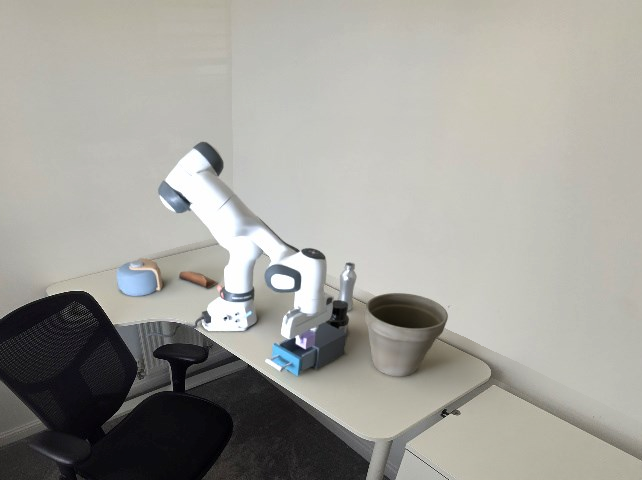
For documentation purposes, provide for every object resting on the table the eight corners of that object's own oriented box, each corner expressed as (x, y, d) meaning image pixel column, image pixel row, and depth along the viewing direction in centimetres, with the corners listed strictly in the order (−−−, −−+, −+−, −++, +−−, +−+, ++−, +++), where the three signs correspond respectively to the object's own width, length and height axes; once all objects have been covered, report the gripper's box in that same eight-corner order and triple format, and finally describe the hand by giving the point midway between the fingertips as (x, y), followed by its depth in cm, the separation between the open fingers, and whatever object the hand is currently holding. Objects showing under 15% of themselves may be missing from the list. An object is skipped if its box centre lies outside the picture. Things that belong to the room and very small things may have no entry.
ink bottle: (344, 340, 165) (348, 311, 158) (321, 336, 167) (324, 308, 160) (348, 327, 172) (353, 300, 165) (326, 324, 175) (330, 296, 168)
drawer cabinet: (316, 369, 150) (319, 348, 145) (288, 352, 158) (289, 332, 153) (344, 353, 157) (347, 333, 152) (315, 338, 166) (317, 318, 161)
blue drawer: (285, 383, 142) (286, 366, 138) (259, 366, 150) (260, 350, 146) (324, 361, 152) (326, 344, 148) (299, 346, 160) (300, 330, 156)
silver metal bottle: (352, 313, 182) (359, 267, 170) (335, 312, 183) (341, 266, 171) (352, 306, 187) (359, 261, 175) (336, 305, 188) (341, 260, 176)
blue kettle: (169, 289, 202) (166, 264, 194) (128, 300, 193) (123, 275, 185) (151, 275, 214) (148, 251, 207) (112, 285, 205) (107, 260, 198)
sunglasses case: (218, 282, 206) (213, 273, 201) (210, 293, 204) (204, 284, 199) (191, 272, 215) (185, 263, 210) (183, 283, 213) (176, 275, 208)
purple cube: (305, 349, 141) (306, 338, 139) (295, 343, 144) (296, 333, 142) (314, 344, 144) (315, 334, 141) (304, 339, 146) (305, 328, 144)
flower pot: (343, 366, 151) (351, 310, 138) (377, 338, 166) (388, 285, 153) (411, 396, 138) (428, 337, 125) (442, 362, 152) (460, 307, 139)
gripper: (292, 316, 127) (290, 355, 136) (337, 295, 138) (332, 333, 146) (277, 309, 131) (276, 347, 139) (322, 289, 142) (318, 325, 150)
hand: (305, 339), depth 143 cm, fingers closed on purple cube, 4 cm apart
